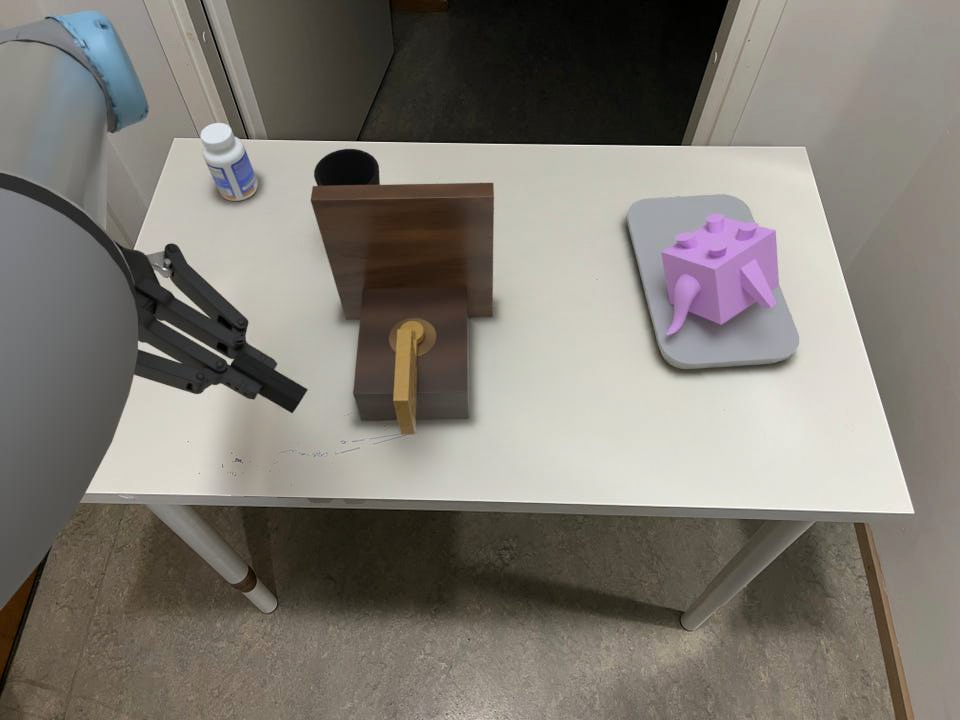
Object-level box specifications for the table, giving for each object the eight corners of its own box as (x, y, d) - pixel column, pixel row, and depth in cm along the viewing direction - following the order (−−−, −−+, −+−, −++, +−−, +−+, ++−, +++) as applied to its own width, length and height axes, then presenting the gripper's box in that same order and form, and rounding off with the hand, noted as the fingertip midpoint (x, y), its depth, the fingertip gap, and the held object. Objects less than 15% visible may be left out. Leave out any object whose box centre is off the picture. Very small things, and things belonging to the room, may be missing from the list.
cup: (333, 220, 93) (314, 150, 82) (389, 216, 93) (377, 145, 83) (332, 264, 88) (313, 196, 78) (391, 259, 89) (379, 190, 79)
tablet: (738, 205, 93) (743, 192, 91) (799, 366, 79) (807, 356, 77) (620, 212, 93) (623, 199, 91) (661, 375, 79) (665, 365, 77)
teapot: (830, 208, 72) (830, 286, 77) (731, 188, 82) (738, 258, 88) (707, 288, 67) (717, 366, 72) (618, 256, 77) (633, 326, 82)
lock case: (495, 418, 76) (498, 312, 59) (335, 421, 76) (291, 316, 59) (492, 303, 85) (493, 182, 68) (347, 306, 85) (312, 185, 68)
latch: (421, 434, 68) (414, 400, 62) (395, 435, 68) (386, 400, 62) (424, 325, 75) (419, 285, 69) (401, 326, 75) (393, 285, 69)
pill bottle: (255, 171, 98) (234, 114, 90) (261, 197, 95) (240, 140, 87) (217, 180, 97) (192, 123, 89) (222, 206, 94) (196, 150, 86)
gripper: (-25, 284, 48) (270, 450, 53) (96, 174, 56) (346, 329, 60) (-11, 330, 54) (253, 476, 59) (96, 226, 62) (324, 362, 66)
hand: (299, 401), depth 60 cm, fingers closed
